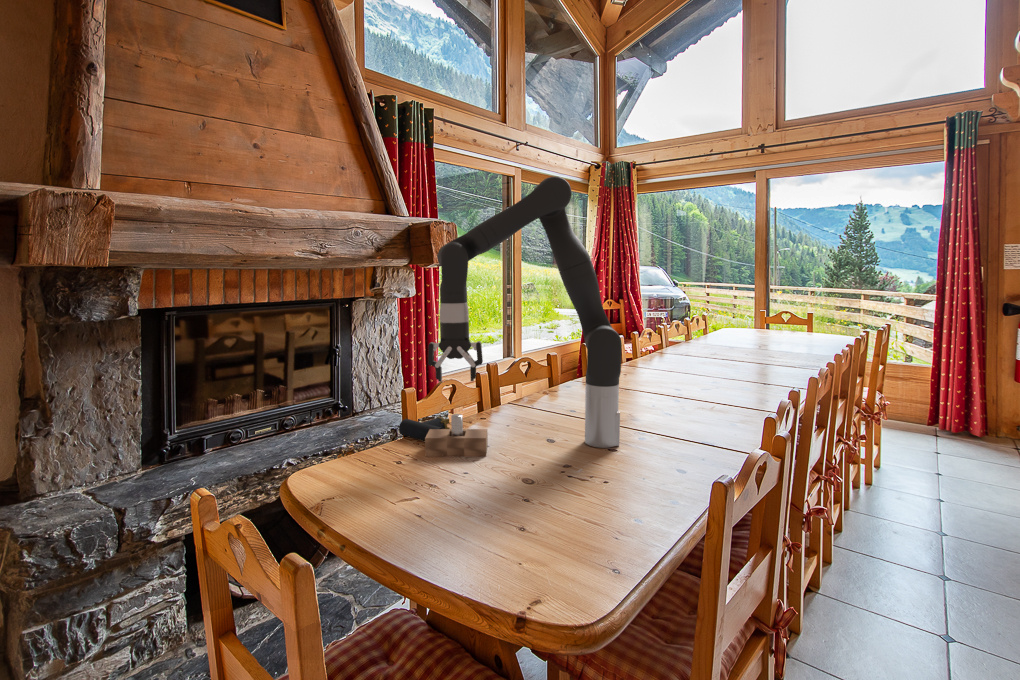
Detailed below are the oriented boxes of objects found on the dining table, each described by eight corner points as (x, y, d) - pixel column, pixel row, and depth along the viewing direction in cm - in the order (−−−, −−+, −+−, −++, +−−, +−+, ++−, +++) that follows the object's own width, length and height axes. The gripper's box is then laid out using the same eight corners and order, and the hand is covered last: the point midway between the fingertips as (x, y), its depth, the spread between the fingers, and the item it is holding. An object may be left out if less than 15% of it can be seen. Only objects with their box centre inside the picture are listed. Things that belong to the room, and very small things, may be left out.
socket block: (487, 446, 149) (487, 429, 148) (486, 456, 141) (485, 438, 141) (430, 446, 149) (429, 429, 149) (425, 456, 141) (424, 438, 141)
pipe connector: (427, 411, 167) (462, 420, 157) (428, 428, 168) (462, 437, 158) (398, 420, 158) (433, 429, 149) (399, 437, 159) (434, 448, 149)
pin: (463, 449, 147) (463, 414, 145) (462, 453, 144) (461, 417, 143) (452, 449, 147) (451, 414, 146) (451, 453, 144) (450, 417, 143)
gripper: (482, 318, 144) (483, 377, 146) (429, 319, 144) (431, 378, 146) (480, 321, 137) (482, 383, 139) (424, 322, 137) (427, 384, 139)
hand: (456, 380), depth 143 cm, fingers open, 8 cm apart
